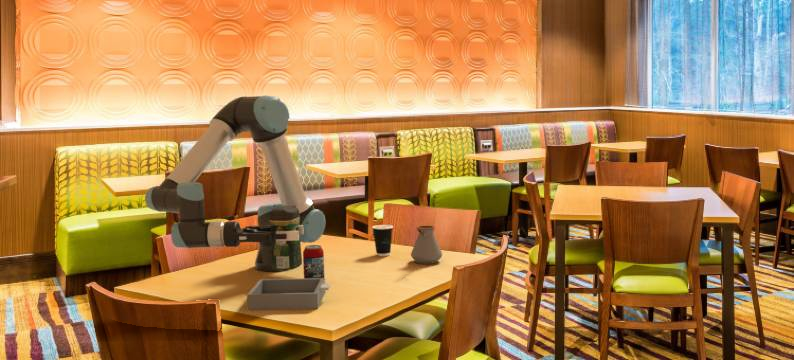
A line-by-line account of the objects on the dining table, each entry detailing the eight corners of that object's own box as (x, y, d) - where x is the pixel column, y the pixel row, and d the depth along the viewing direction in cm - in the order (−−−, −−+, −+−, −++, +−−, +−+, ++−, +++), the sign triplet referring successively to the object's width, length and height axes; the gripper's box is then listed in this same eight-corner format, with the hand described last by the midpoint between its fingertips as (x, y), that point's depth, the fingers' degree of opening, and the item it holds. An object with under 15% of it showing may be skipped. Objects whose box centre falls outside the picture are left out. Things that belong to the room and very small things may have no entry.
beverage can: (308, 286, 243) (307, 249, 242) (301, 281, 249) (299, 246, 248) (327, 283, 247) (326, 247, 245) (320, 278, 252) (318, 243, 251)
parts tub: (260, 293, 236) (260, 279, 235) (333, 292, 235) (332, 278, 235) (247, 310, 217) (246, 294, 217) (326, 308, 217) (325, 293, 216)
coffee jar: (281, 263, 231) (279, 203, 229) (305, 264, 229) (303, 204, 227) (267, 270, 222) (264, 208, 220) (292, 271, 219) (289, 208, 217)
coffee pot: (414, 258, 281) (413, 218, 280) (444, 258, 279) (443, 218, 277) (402, 271, 261) (401, 228, 259) (435, 272, 258) (434, 229, 256)
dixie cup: (386, 257, 283) (385, 229, 281) (369, 255, 287) (368, 227, 286) (397, 253, 289) (396, 225, 288) (380, 252, 294) (379, 224, 292)
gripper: (234, 239, 235) (306, 238, 235) (216, 254, 214) (295, 252, 214) (233, 216, 235) (305, 214, 234) (215, 228, 213) (294, 226, 213)
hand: (300, 232), depth 224 cm, fingers closed on coffee jar, 8 cm apart
